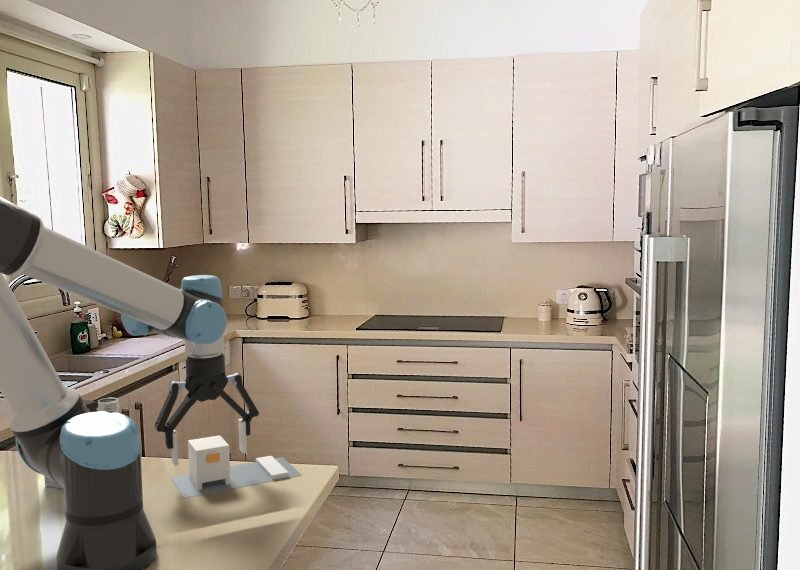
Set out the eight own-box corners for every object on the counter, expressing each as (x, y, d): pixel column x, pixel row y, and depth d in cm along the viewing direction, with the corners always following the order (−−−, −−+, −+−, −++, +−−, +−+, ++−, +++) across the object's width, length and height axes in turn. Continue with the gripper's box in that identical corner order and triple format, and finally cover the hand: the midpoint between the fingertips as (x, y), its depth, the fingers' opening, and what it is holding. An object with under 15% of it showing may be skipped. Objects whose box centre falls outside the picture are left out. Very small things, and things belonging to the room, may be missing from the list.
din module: (230, 484, 149) (229, 445, 148) (198, 490, 146) (196, 451, 145) (221, 472, 155) (219, 435, 154) (189, 478, 152) (187, 440, 151)
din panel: (302, 482, 154) (302, 470, 154) (183, 505, 143) (183, 493, 142) (282, 463, 164) (282, 452, 164) (171, 484, 153) (170, 472, 153)
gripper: (260, 343, 157) (264, 441, 159) (135, 357, 145) (142, 462, 148) (271, 350, 150) (275, 451, 153) (142, 365, 138) (148, 475, 141)
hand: (209, 457), depth 150 cm, fingers open, 13 cm apart
